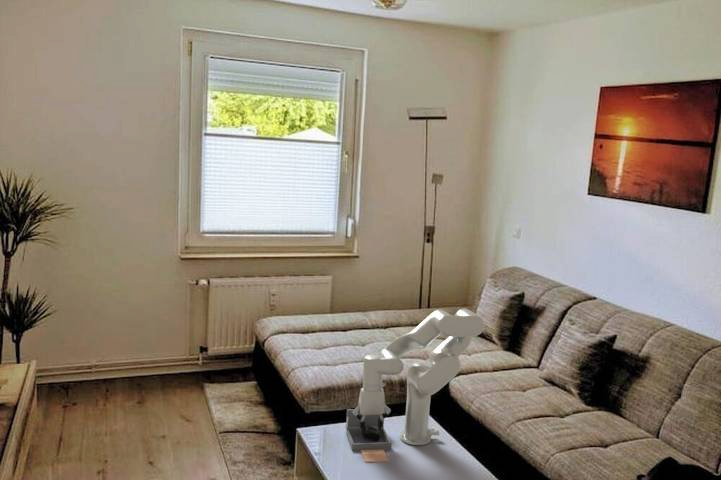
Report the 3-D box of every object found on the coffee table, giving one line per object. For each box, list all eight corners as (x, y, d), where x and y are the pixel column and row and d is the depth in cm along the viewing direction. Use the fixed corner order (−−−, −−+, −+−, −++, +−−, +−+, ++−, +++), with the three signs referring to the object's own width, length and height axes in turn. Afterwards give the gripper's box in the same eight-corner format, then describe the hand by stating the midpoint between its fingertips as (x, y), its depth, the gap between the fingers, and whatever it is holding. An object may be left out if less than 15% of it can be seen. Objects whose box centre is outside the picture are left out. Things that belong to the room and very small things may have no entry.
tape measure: (362, 439, 242) (365, 431, 242) (359, 432, 249) (362, 423, 249) (378, 444, 244) (381, 435, 243) (375, 436, 250) (378, 427, 250)
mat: (383, 450, 238) (383, 449, 238) (388, 461, 229) (388, 460, 229) (360, 451, 236) (360, 450, 236) (365, 462, 227) (365, 461, 227)
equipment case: (382, 432, 253) (384, 408, 252) (391, 449, 239) (392, 423, 238) (345, 433, 250) (347, 409, 249) (352, 450, 236) (353, 424, 235)
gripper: (391, 381, 246) (389, 424, 249) (349, 383, 243) (348, 426, 246) (395, 388, 239) (394, 432, 242) (352, 390, 236) (351, 435, 238)
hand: (371, 429), depth 244 cm, fingers open, 6 cm apart
